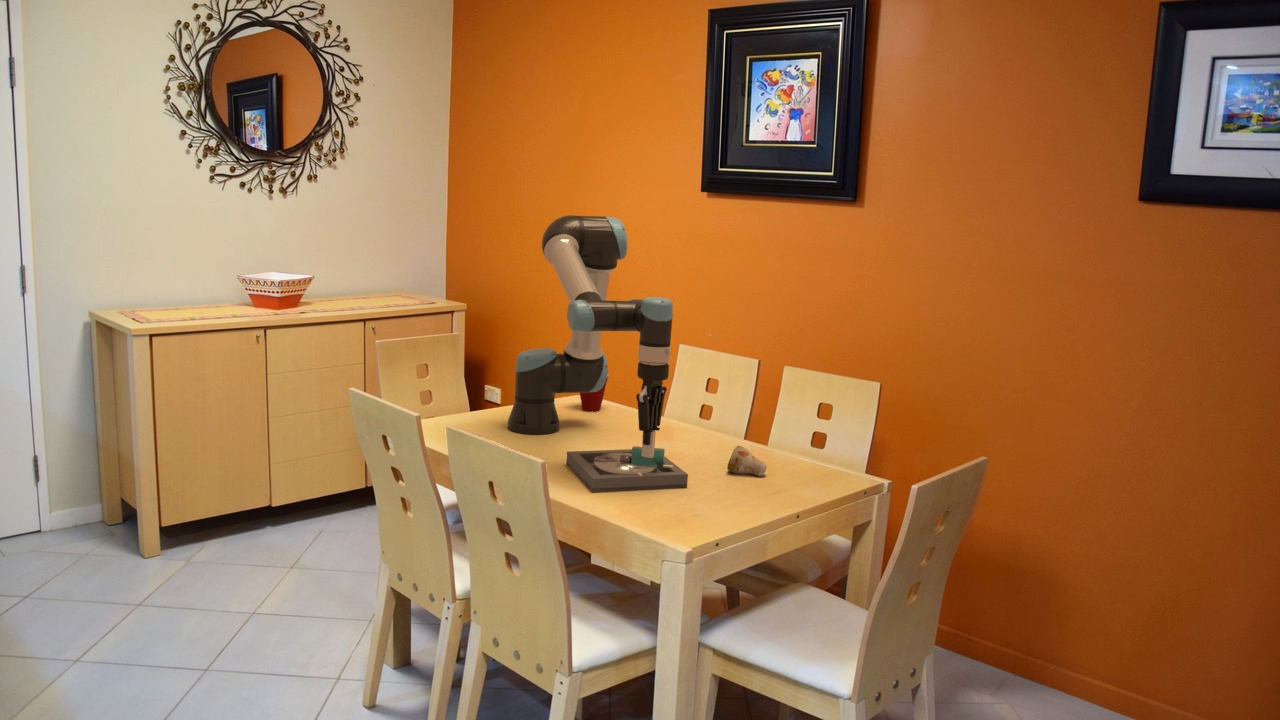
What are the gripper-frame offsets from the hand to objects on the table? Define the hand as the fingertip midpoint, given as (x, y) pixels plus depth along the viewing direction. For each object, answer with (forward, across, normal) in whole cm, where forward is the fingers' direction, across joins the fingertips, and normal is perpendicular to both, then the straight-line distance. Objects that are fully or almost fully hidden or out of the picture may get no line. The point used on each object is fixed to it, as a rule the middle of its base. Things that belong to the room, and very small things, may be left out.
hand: (647, 456), depth 238 cm
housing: (+7, +2, +7) cm, 10 cm away
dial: (+5, +2, +6) cm, 8 cm away
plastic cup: (+8, +62, +48) cm, 79 cm away
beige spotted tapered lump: (+7, +22, -19) cm, 30 cm away
